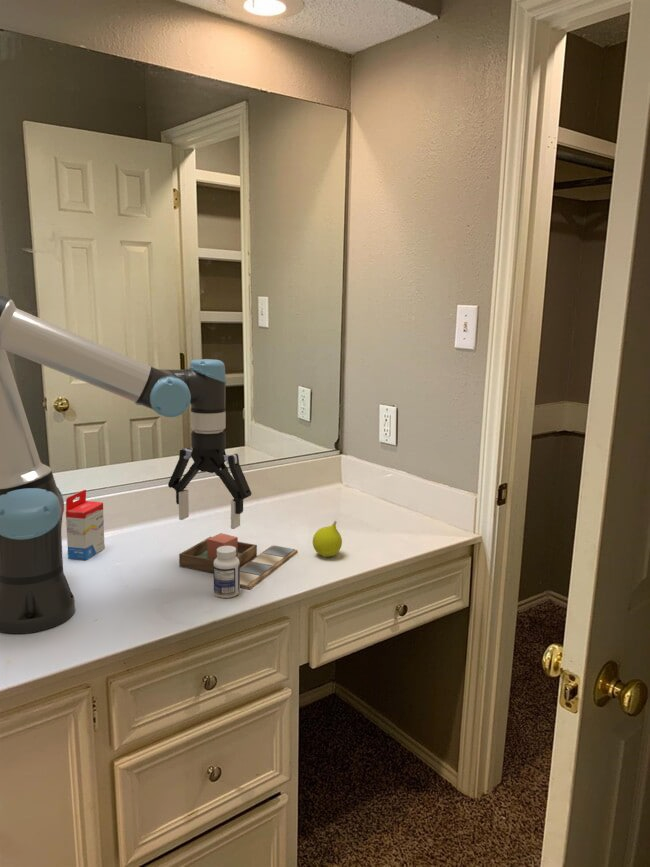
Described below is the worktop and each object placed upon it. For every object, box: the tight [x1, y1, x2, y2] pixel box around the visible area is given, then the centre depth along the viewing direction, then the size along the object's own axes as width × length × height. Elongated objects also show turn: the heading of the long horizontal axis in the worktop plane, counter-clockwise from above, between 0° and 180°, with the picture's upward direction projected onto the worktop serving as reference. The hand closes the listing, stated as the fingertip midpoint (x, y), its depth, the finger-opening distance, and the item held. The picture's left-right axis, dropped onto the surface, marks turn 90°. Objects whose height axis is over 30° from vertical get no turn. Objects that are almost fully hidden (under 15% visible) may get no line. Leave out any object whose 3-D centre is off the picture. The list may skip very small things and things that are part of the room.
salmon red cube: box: [206, 532, 239, 560], centre depth 154 cm, size 5×5×5 cm
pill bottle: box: [213, 546, 241, 599], centre depth 136 cm, size 5×5×10 cm
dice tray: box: [178, 536, 258, 574], centre depth 153 cm, size 13×13×3 cm
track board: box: [240, 545, 298, 590], centre depth 151 cm, size 24×7×1 cm, turn 157°
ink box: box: [65, 489, 106, 561], centre depth 155 cm, size 8×5×15 cm, turn 168°
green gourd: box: [312, 519, 343, 558], centre depth 158 cm, size 7×7×10 cm
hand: (209, 522), depth 148 cm, fingers open, 13 cm apart
